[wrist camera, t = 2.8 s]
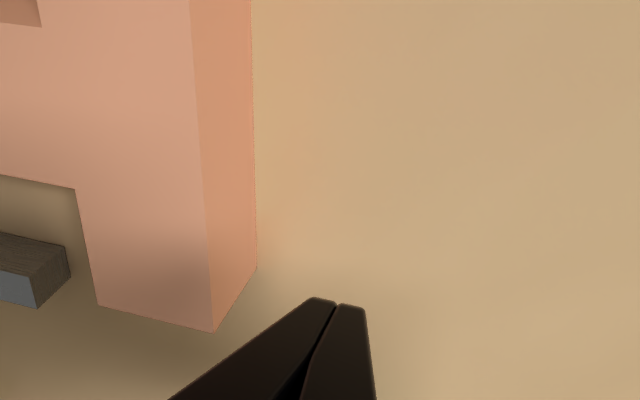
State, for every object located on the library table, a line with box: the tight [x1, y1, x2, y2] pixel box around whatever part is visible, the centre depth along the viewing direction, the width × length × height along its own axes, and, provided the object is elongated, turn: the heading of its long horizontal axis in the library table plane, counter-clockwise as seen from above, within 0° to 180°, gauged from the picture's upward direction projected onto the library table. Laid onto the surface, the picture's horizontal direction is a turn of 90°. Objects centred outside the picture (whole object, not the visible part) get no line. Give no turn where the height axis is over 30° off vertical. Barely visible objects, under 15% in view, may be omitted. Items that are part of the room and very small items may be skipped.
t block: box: [0, 0, 257, 334], centre depth 18 cm, size 12×13×4 cm
